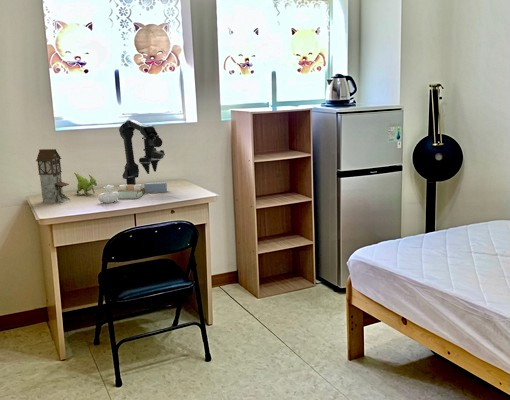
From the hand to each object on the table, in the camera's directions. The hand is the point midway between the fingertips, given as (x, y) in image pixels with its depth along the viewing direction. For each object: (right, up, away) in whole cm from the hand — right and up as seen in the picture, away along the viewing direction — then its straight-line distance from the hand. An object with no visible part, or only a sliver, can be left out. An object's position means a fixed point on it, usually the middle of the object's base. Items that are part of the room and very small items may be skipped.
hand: (151, 172), depth 332 cm
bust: (-19, -18, -22) cm, 34 cm away
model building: (-53, -17, -13) cm, 57 cm away
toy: (-41, -13, +5) cm, 43 cm away
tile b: (-12, -10, -1) cm, 16 cm away
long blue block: (+2, -12, +4) cm, 13 cm away
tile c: (-8, -10, -2) cm, 13 cm away
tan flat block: (-12, -13, 0) cm, 18 cm away
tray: (-13, -15, -9) cm, 22 cm away
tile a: (-17, -10, 0) cm, 19 cm away
